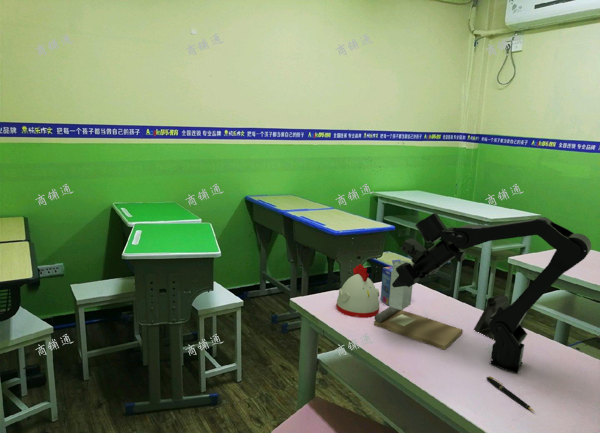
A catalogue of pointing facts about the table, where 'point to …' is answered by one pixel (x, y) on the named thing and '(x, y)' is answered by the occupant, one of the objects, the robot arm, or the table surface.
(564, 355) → the table surface
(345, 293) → the kitchen timer
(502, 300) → the phone stand
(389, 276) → the ink cartridge box
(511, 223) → the robot arm
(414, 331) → the walnut base leaf
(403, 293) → the brushed steel block
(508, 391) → the fountain pen
